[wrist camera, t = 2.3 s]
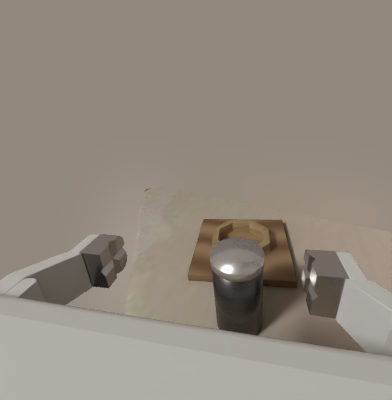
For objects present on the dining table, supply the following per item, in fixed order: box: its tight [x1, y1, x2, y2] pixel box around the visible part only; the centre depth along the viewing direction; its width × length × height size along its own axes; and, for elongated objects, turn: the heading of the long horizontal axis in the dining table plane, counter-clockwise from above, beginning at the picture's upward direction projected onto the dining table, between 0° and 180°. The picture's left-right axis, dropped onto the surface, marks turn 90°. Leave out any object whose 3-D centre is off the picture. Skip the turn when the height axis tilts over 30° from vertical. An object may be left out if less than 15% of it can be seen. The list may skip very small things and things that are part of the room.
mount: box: [188, 219, 297, 288], centre depth 41 cm, size 16×16×3 cm
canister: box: [210, 238, 265, 335], centre depth 27 cm, size 6×6×11 cm
